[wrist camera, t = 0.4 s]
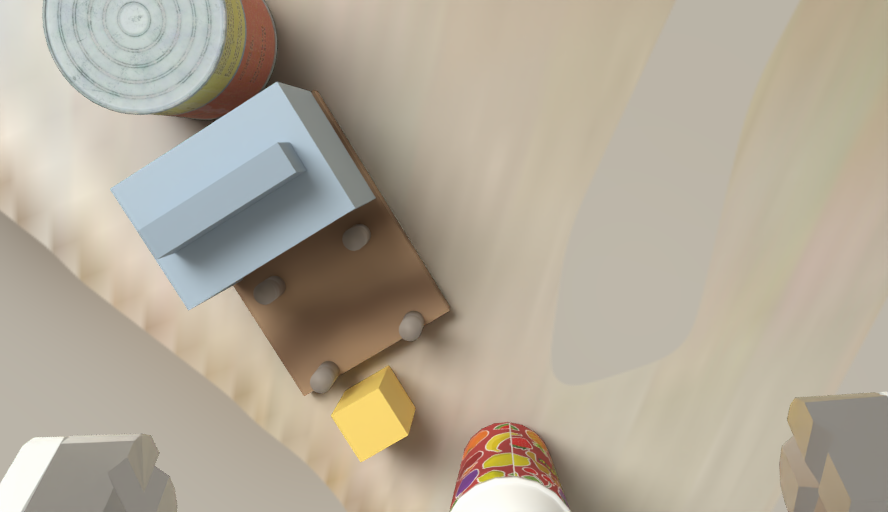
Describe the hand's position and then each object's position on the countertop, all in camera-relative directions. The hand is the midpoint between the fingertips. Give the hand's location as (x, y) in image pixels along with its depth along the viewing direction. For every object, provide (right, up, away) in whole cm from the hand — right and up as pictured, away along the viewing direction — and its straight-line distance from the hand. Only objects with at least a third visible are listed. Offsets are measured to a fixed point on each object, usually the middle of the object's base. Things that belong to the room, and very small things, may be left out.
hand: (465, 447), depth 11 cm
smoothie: (+5, -13, +54) cm, 56 cm away
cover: (-13, +7, +50) cm, 52 cm away
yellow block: (-5, -9, +54) cm, 55 cm away
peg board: (-10, +3, +52) cm, 53 cm away
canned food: (-18, +18, +51) cm, 57 cm away
